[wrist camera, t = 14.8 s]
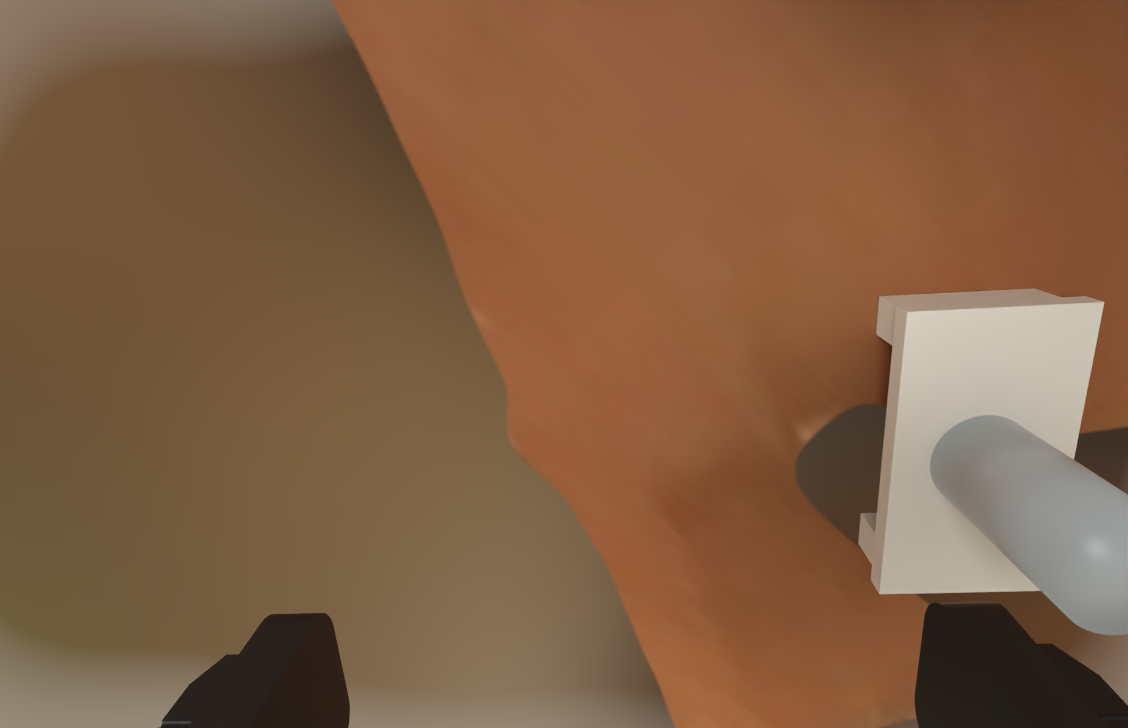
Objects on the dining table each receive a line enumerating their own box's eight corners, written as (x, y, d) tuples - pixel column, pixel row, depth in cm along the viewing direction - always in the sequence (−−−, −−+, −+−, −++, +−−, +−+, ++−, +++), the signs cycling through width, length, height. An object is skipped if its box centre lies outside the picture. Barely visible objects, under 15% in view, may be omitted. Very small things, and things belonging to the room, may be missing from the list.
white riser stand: (871, 292, 40) (907, 312, 35) (1043, 282, 40) (1104, 301, 35) (850, 547, 46) (879, 594, 41) (1001, 543, 45) (1048, 590, 40)
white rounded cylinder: (936, 416, 37) (1072, 520, 27) (1040, 414, 37) (1217, 519, 26) (924, 504, 39) (1046, 635, 28) (1022, 503, 39) (1182, 635, 28)
